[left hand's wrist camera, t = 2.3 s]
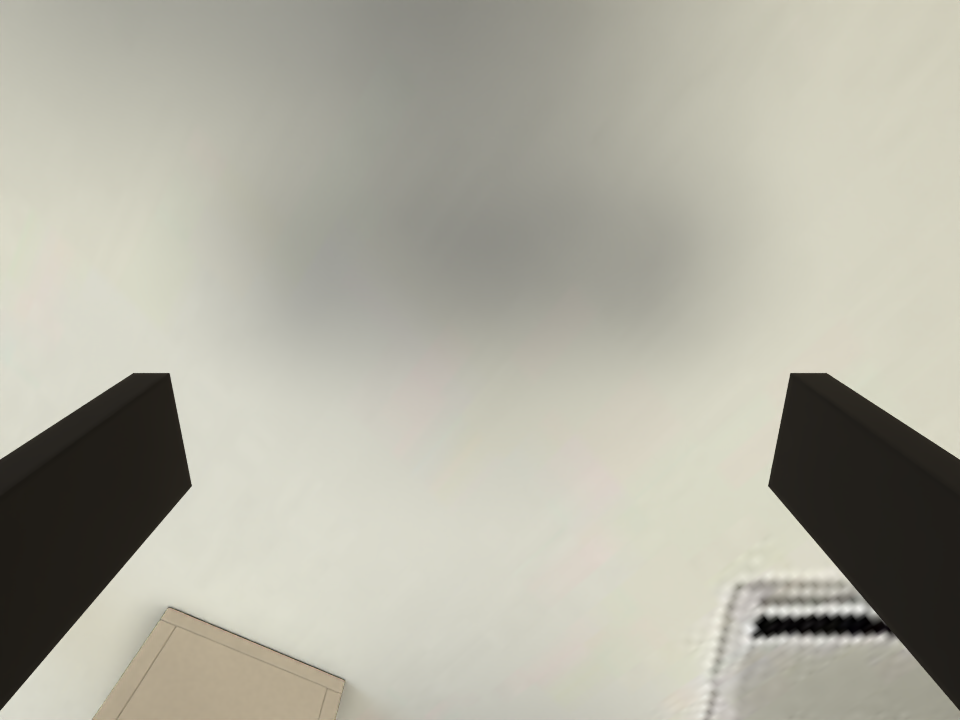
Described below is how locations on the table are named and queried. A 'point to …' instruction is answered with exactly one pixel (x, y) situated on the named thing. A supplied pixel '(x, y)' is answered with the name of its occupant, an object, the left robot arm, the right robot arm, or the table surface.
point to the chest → (216, 679)
